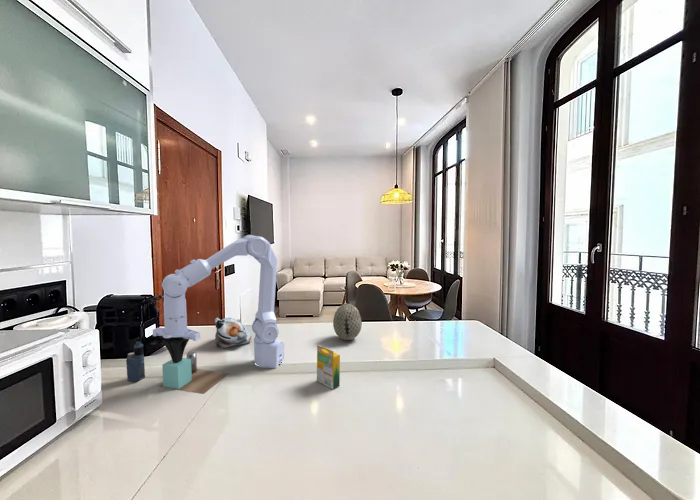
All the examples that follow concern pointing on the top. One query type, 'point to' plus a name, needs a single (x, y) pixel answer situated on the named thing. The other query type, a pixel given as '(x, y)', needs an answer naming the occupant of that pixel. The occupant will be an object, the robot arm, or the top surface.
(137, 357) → the vaping device
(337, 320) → the decorative egg
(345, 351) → the top surface
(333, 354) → the crayon box
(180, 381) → the teal foam cube
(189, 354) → the metal post
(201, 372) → the board
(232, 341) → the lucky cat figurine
